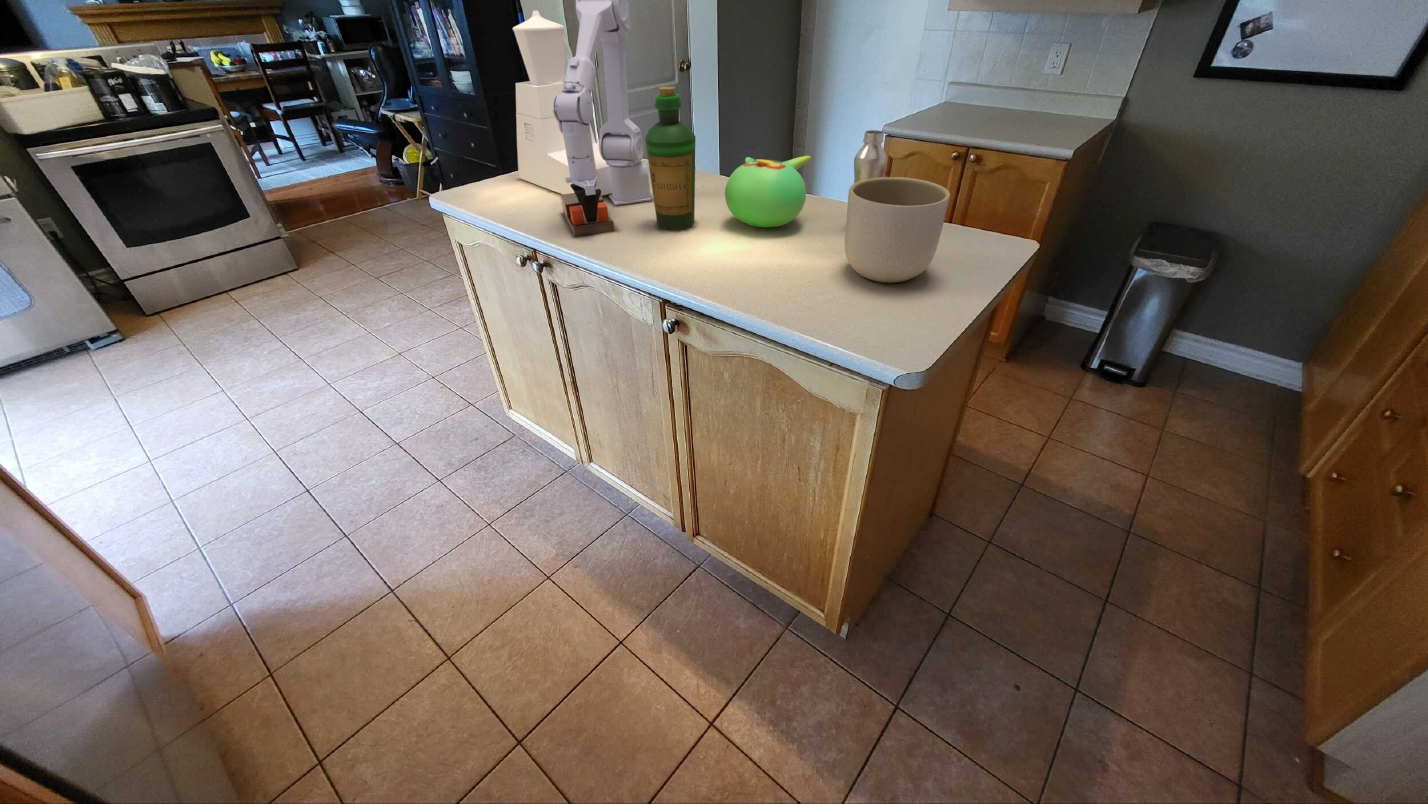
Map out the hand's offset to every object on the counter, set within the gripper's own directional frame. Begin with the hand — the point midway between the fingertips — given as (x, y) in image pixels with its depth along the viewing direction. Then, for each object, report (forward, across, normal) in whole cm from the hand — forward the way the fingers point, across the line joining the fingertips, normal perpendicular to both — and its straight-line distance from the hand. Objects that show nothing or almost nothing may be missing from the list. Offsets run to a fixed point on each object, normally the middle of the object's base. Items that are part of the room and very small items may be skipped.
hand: (590, 218), depth 130 cm
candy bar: (0, 0, 0) cm, 0 cm away
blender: (+2, -37, +3) cm, 37 cm away
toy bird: (+2, +14, +38) cm, 40 cm away
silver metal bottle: (+2, +26, +56) cm, 61 cm away
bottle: (+2, +6, +18) cm, 20 cm away
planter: (+2, +47, +48) cm, 67 cm away
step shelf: (+2, -4, 0) cm, 5 cm away
